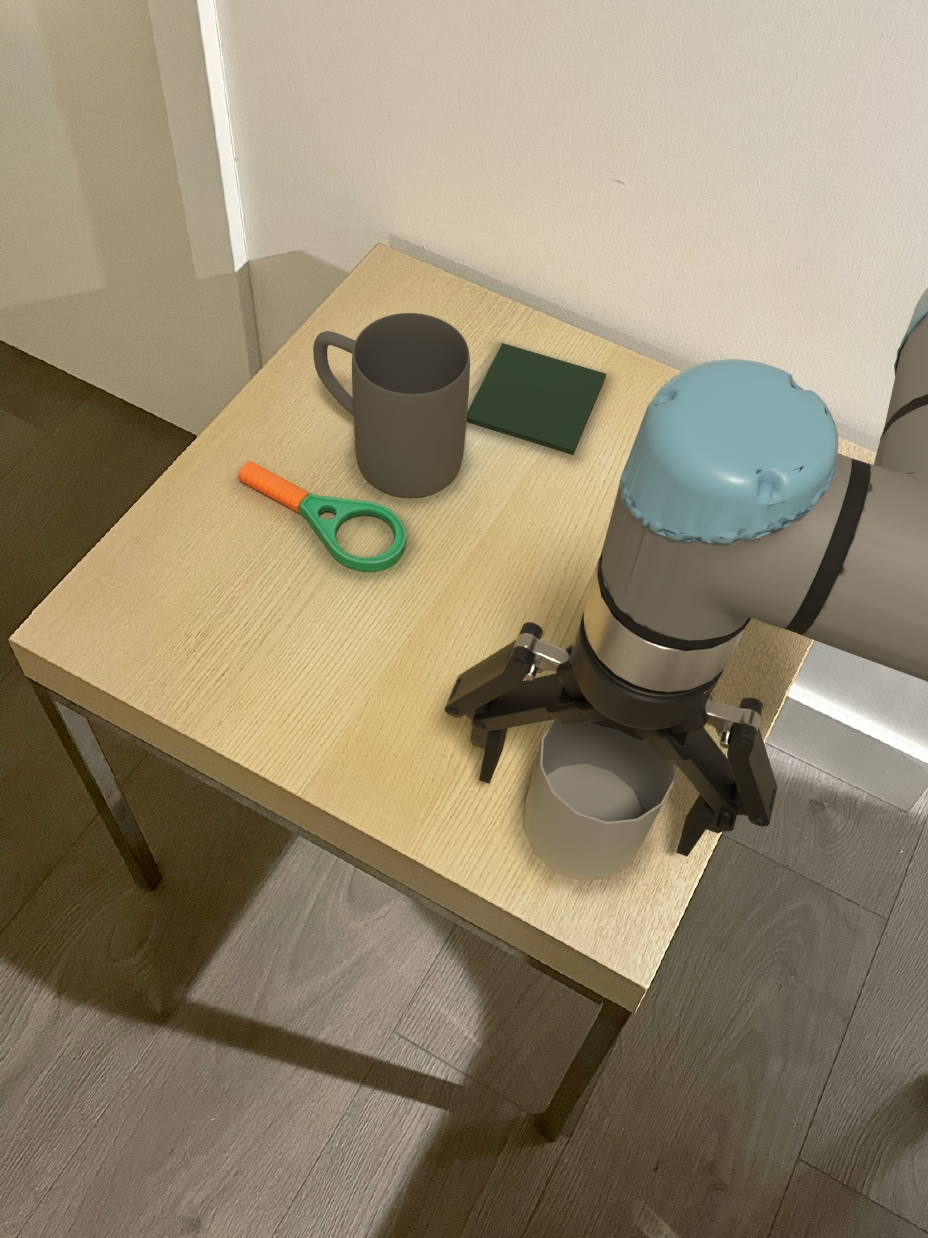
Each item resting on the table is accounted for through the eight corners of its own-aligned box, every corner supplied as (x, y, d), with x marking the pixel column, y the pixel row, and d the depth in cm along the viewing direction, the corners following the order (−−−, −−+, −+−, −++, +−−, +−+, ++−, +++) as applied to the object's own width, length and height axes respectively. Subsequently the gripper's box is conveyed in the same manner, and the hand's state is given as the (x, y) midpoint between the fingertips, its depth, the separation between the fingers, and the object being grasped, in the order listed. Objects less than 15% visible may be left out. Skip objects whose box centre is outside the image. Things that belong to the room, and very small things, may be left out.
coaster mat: (605, 378, 97) (606, 373, 97) (573, 455, 92) (574, 450, 92) (501, 347, 99) (502, 342, 98) (464, 421, 94) (464, 416, 93)
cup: (560, 746, 77) (580, 676, 69) (663, 803, 75) (697, 739, 67) (502, 841, 73) (515, 779, 64) (609, 904, 71) (638, 849, 62)
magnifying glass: (420, 533, 87) (421, 520, 85) (379, 585, 84) (379, 572, 82) (268, 455, 90) (266, 441, 89) (223, 502, 87) (220, 488, 86)
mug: (482, 446, 92) (493, 339, 82) (428, 517, 88) (432, 413, 78) (348, 384, 95) (343, 274, 85) (289, 450, 91) (276, 342, 81)
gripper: (916, 653, 53) (782, 816, 71) (448, 498, 57) (432, 691, 75) (896, 782, 50) (759, 921, 67) (394, 607, 53) (391, 783, 71)
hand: (587, 800), depth 71 cm, fingers open, 13 cm apart
